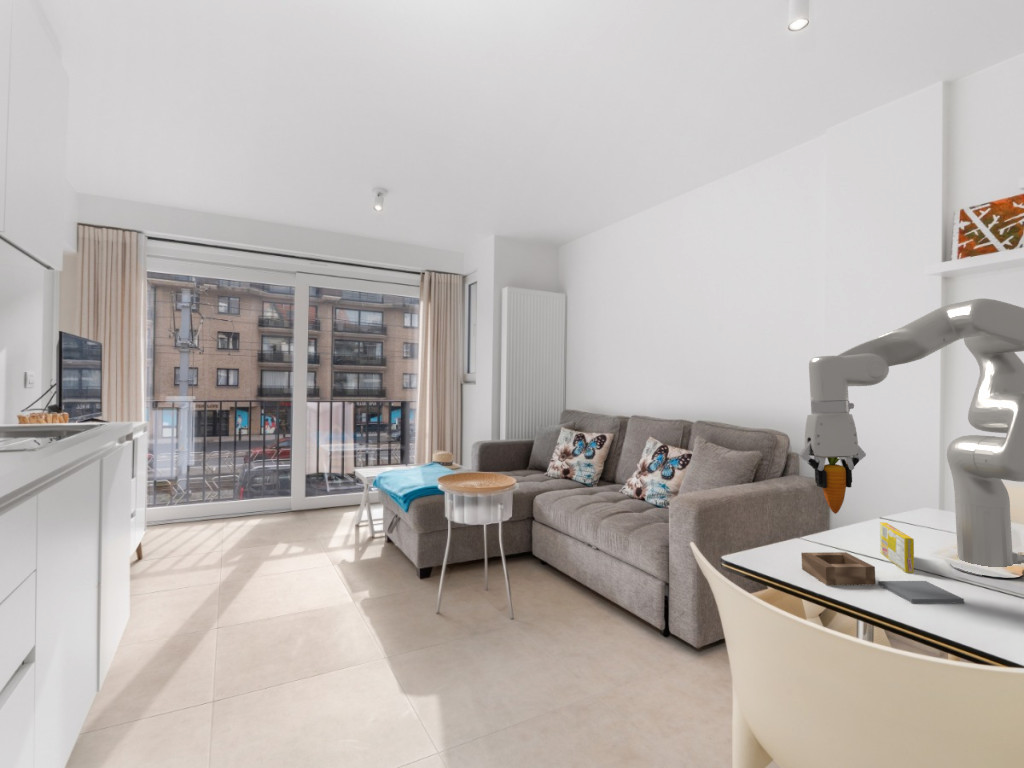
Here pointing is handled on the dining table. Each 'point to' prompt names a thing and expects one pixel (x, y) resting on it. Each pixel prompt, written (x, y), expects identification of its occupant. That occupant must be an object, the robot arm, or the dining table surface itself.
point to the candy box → (897, 547)
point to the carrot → (835, 484)
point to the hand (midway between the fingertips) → (833, 485)
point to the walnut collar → (838, 568)
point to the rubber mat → (920, 592)
